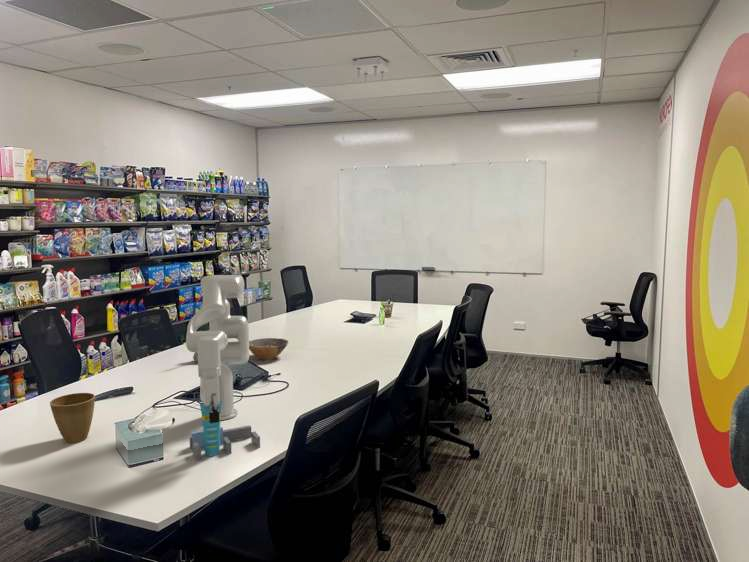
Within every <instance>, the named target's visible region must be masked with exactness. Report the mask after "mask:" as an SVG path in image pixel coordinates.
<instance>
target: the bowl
mask: <svg viewBox="0 0 749 562" xmlns="http://www.w3.org/2000/svg"><path fill="white" fill-rule="evenodd" d="M288 344H289V340H287V339H284V338H277V337H266V338H265V337H263V338H256V339H252V340H249V352H251V353H252V354H253V356H254V357H255V358H257V359H259V360H263V361H265V360H266V361H269V360H275V358H278V356H279V355H281V353H282V352H283V351H284V350H285V349H286V347H287V346H288Z"/></svg>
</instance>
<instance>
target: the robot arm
mask: <svg viewBox="0 0 749 562" xmlns="http://www.w3.org/2000/svg"><path fill="white" fill-rule="evenodd" d="M200 288H201V292H202V293H203V294H202V305H201V308H200V309H199V310H198V311H197V312H195V314H194V315H193V316H192V317H191V318H190V320H189V322H188V324H187V328H186V329H187V330H186V336H185V337H186V339H185V343H186V344H185V346H186V349H187V350H188V351H189V352H191V353H195V352H198V363H197V366H198V367H197V368H198V371H197V372H198V378H200V383H199V384H200V387H199V389H200V392H199V398H200V400H201V403H204V405H205V406H208V405H209V407H210V412H209V416H210V423H217V422H219V408H218V404H219V401H221V400H222V406H221V419H220V421H224V420H229V419H232V418H233V419H234V418H235V417H236V416H238V409H236V408H235V407H234V378H233V372H232V370H231V369H230V368H229V366H228V365H243V364H247V363H248V362H249V360H250V359H249V358H250V350H249V341H250V334H249V333H250V332H249V331H250V329H249V321H248V319H247V318H246V316H244V315H231V306H230V305H231V304H230V302H229V301H228V299H238V298H241V297H242V295H243V294H244V291H245V280H244V277H243V276H242V275H241V274H213V275H206V276H203V277H202V278H201V280H200ZM208 323H209V324H208ZM207 324H208V325H209V330H199V331H198V329H199V328H201V327H202V326H203V325H207ZM229 339H230V340H231V339H236V340H238V341H229ZM212 402H213V403H212ZM212 406H213V407H212Z"/></svg>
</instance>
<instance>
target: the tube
mask: <svg viewBox="0 0 749 562" xmlns="http://www.w3.org/2000/svg"><path fill="white" fill-rule="evenodd" d="M212 403H213V402H212ZM221 406H222V400H221V401H219V404H218V408H219V422H217V423H210V416H209V412H210V407H209V405H208V406H205V405H204V403H203V402H199V407H200V412H201V420H202V428H203V429H202V431H204V444H205V447H204V454H205V456H207V457H213V456H218V455H219V454H220V448H221V446H220V445H221V444H220V427H221V420H220V419H221ZM212 407H213V406H212Z"/></svg>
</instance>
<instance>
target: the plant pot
mask: <svg viewBox="0 0 749 562" xmlns="http://www.w3.org/2000/svg"><path fill="white" fill-rule="evenodd" d="M95 399H96V395H95V394H94V393H91V392H76V393H69V394H65V395H61V396H58V397H55V398H53V399H51V400H50V402H49V406H50V409H51V412H52V417H53V419H54V422H55V424H56V427H57V430H58V432H59V433H60V436H61V437H62V439H63V441H64V442H65V443H67V444H76V443H81V442H83V441H85V440H87V439H88V436H89V432H90V429H91V425H92V421H93V417H94V416H93V415H94V410H95V401H96V400H95Z"/></svg>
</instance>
